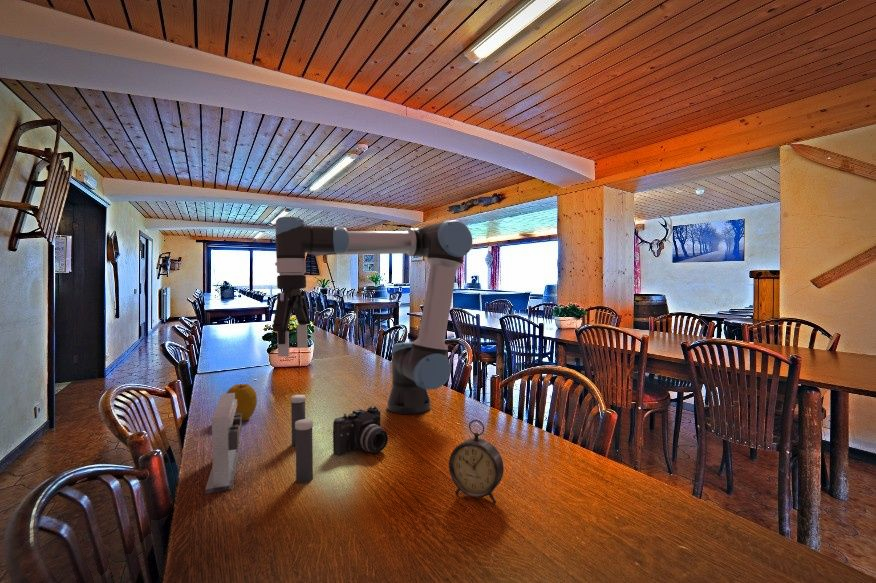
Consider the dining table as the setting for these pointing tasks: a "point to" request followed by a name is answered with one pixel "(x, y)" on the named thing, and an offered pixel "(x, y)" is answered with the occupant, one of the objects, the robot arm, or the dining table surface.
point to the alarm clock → (476, 466)
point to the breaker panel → (224, 444)
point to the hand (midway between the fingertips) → (293, 351)
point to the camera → (359, 432)
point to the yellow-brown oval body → (244, 399)
